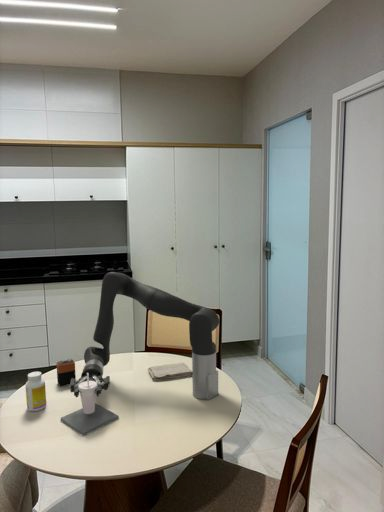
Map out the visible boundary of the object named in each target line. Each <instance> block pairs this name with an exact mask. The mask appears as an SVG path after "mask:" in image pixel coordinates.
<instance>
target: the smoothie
mask: <svg viewBox="0 0 384 512" xmlns="http://www.w3.org/2000/svg"><path fill="white" fill-rule="evenodd" d="M96 388H97V382H95V381H89V373H87V381H85V382H82V383H80V384H79V385H78V389H79V390H80V392H79V396H80V399H81V400H80V401H81V406H82V408H83V412H84V413H85V414H91V413H93V412H94V411H95V403H96V398H97V393H96Z"/></svg>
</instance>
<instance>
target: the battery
mask: <svg viewBox="0 0 384 512" xmlns="http://www.w3.org/2000/svg"><path fill="white" fill-rule="evenodd" d="M76 377H77V376H76V363H75V361H74V359H73V358H67V359H66V360H59V361H57V362H56V379H57V384H58V386H59V387H63V386H64V387H65V386H68V385H69V386H70V383H71V379H72V378H74V380H77V379H76Z"/></svg>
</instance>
